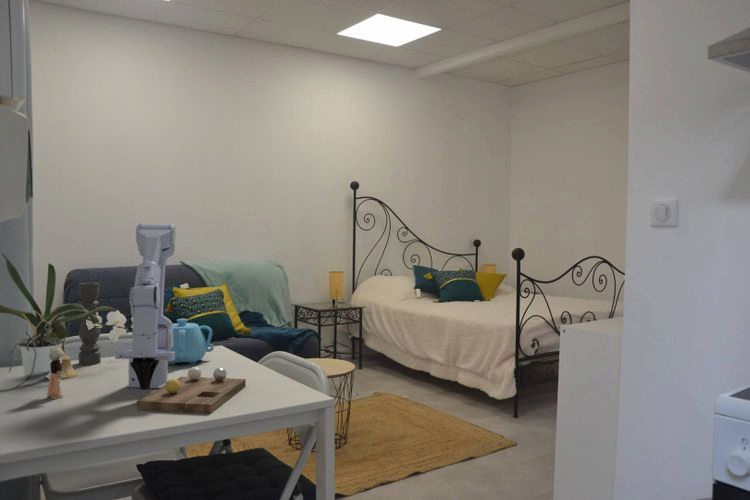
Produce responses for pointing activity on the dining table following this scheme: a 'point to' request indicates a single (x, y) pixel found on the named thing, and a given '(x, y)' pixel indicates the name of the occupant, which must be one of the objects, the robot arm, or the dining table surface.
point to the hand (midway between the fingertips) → (145, 388)
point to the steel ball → (219, 374)
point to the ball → (172, 385)
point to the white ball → (194, 373)
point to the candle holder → (88, 337)
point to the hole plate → (193, 395)
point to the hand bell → (67, 366)
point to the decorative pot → (189, 342)
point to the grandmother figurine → (55, 373)
